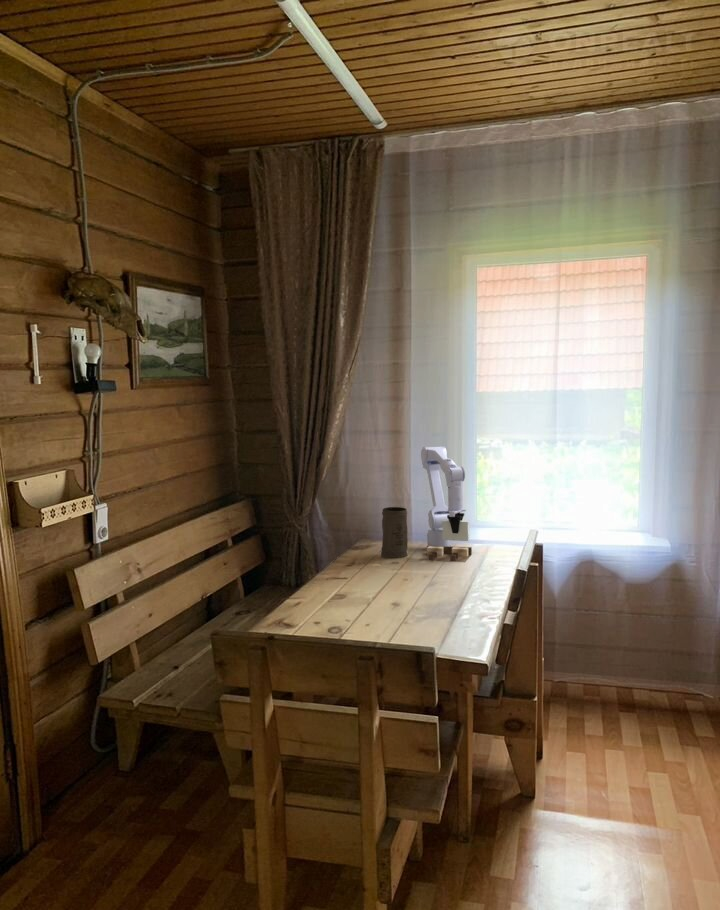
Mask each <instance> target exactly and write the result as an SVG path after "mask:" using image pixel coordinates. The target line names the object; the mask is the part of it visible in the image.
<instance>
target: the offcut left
mask: <svg viewBox="0 0 720 910" xmlns="http://www.w3.org/2000/svg"><path fill="white" fill-rule="evenodd" d="M431 552H437V556H442V555H443V554H444V547H433V546H429V547H427V546H426V554H427V555H429V554H431Z"/></svg>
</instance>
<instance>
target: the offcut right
mask: <svg viewBox="0 0 720 910" xmlns="http://www.w3.org/2000/svg"><path fill="white" fill-rule="evenodd" d="M460 547H461V546H453V548H452V555H453V553H458V557H467V556H468V555H469V553H468V548H460Z"/></svg>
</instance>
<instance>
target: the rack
mask: <svg viewBox="0 0 720 910" xmlns="http://www.w3.org/2000/svg"><path fill="white" fill-rule="evenodd" d="M427 547H429V546H427V545H426V548H427ZM433 547H444V554H443V555H442V556H437V552H431V554H429V555H427V553H425V554H424V555H423V556H422V557H421V558H419V561H425V562H427V561H428V562H448V563H449V562H450V563H451V562H452V563H454V562H455V563H466V562H467V561H468V560H469V559H470V558H471V556H472V553H473V552H472V551H473V550H472V546H459V547H460V548H468V553H469V555H468V556H467V557H458V553H453V555H452V548H453V547H454V546H452V545H451V546H433Z"/></svg>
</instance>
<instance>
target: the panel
mask: <svg viewBox="0 0 720 910" xmlns="http://www.w3.org/2000/svg"><path fill="white" fill-rule="evenodd" d="M442 528H443V540H451V541H457V542H458V541H459V542H469V541H470V521H469V520H462V521H460V524H459V532H458V533H452V529H451V525H450V522H449V520H443V521H442Z"/></svg>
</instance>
